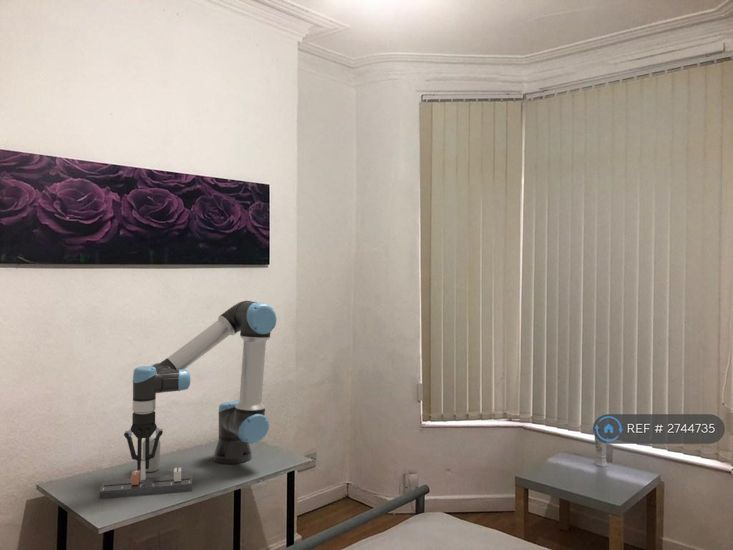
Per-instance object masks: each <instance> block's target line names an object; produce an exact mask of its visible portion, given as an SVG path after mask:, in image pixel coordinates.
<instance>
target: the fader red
mask: <svg viewBox="0 0 733 550" xmlns="http://www.w3.org/2000/svg"><path fill="white" fill-rule="evenodd" d="M140 478H141V470H138V469H137V470H132V471H131V478H130V479H131V485H139V481H140Z"/></svg>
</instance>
